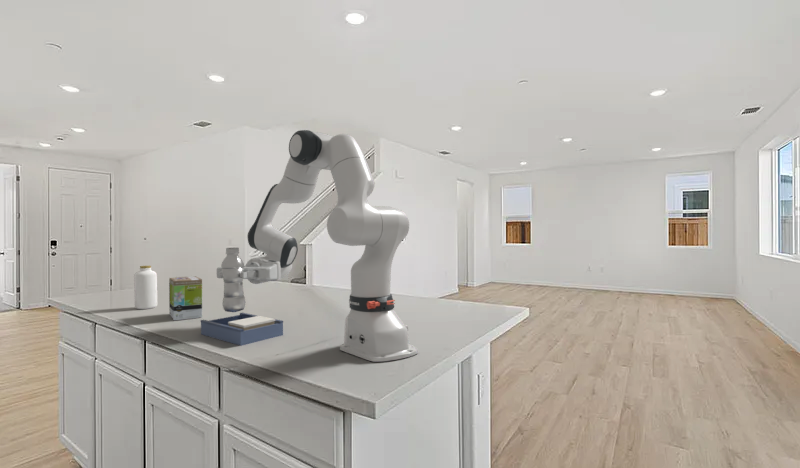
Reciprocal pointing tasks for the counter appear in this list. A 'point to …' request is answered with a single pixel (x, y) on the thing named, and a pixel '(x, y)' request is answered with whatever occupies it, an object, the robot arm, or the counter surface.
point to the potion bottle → (145, 288)
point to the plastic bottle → (233, 281)
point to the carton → (252, 322)
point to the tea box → (185, 297)
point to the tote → (240, 330)
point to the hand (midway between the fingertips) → (231, 275)
